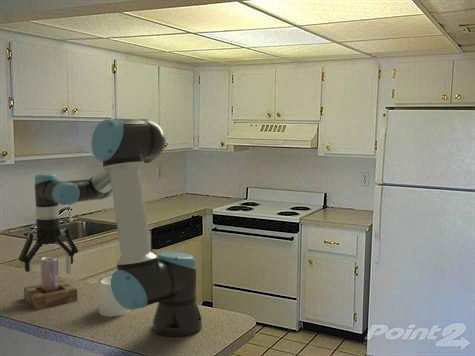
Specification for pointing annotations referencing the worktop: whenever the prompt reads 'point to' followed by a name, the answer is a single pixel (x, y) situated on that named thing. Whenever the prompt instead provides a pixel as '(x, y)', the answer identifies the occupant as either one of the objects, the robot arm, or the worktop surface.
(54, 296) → the socket block
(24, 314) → the worktop surface
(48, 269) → the beverage can
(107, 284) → the mug
